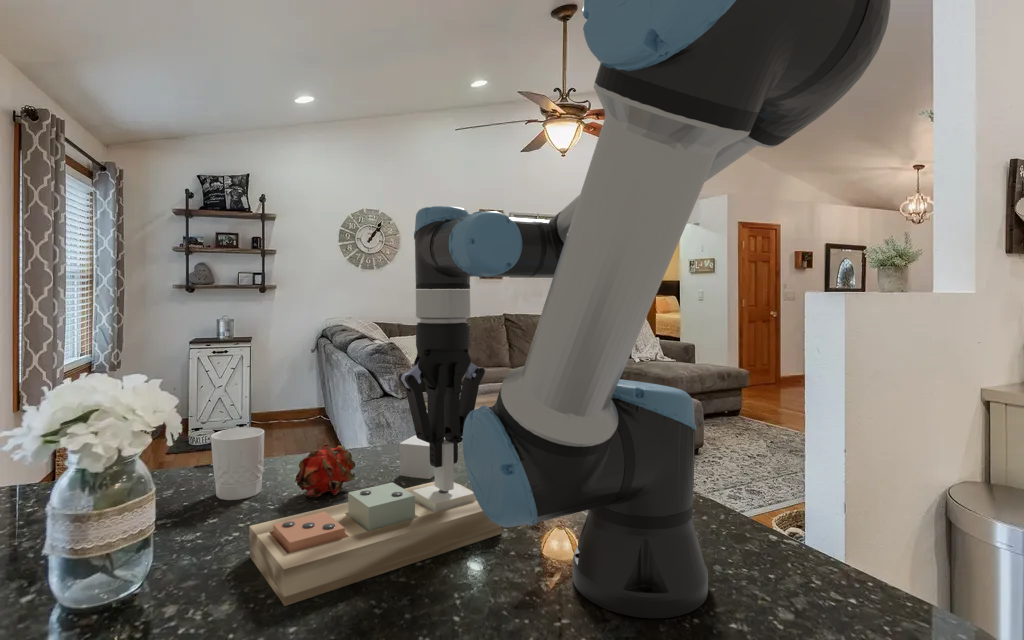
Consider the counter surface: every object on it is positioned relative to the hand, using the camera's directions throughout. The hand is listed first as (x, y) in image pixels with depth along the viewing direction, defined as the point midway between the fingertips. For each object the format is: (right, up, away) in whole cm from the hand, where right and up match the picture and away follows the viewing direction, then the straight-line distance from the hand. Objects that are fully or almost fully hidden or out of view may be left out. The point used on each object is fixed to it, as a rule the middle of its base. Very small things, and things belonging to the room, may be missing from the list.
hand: (444, 487), depth 80 cm
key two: (-7, -3, -6) cm, 10 cm away
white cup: (-35, -5, +13) cm, 38 cm away
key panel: (-7, -6, -5) cm, 11 cm away
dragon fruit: (-21, -5, +13) cm, 25 cm away
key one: (0, -5, 0) cm, 5 cm away
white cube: (-7, -5, +24) cm, 26 cm away
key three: (-15, -5, -11) cm, 20 cm away
